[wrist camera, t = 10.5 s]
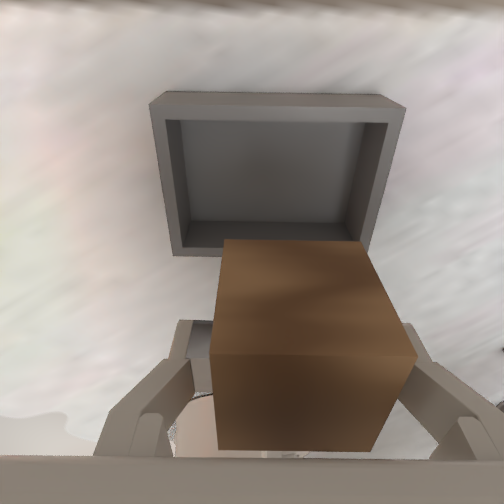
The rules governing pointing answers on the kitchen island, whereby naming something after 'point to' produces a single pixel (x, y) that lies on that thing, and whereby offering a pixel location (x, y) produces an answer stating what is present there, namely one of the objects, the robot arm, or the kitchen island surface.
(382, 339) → the walnut block
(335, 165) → the bin
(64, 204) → the kitchen island surface
